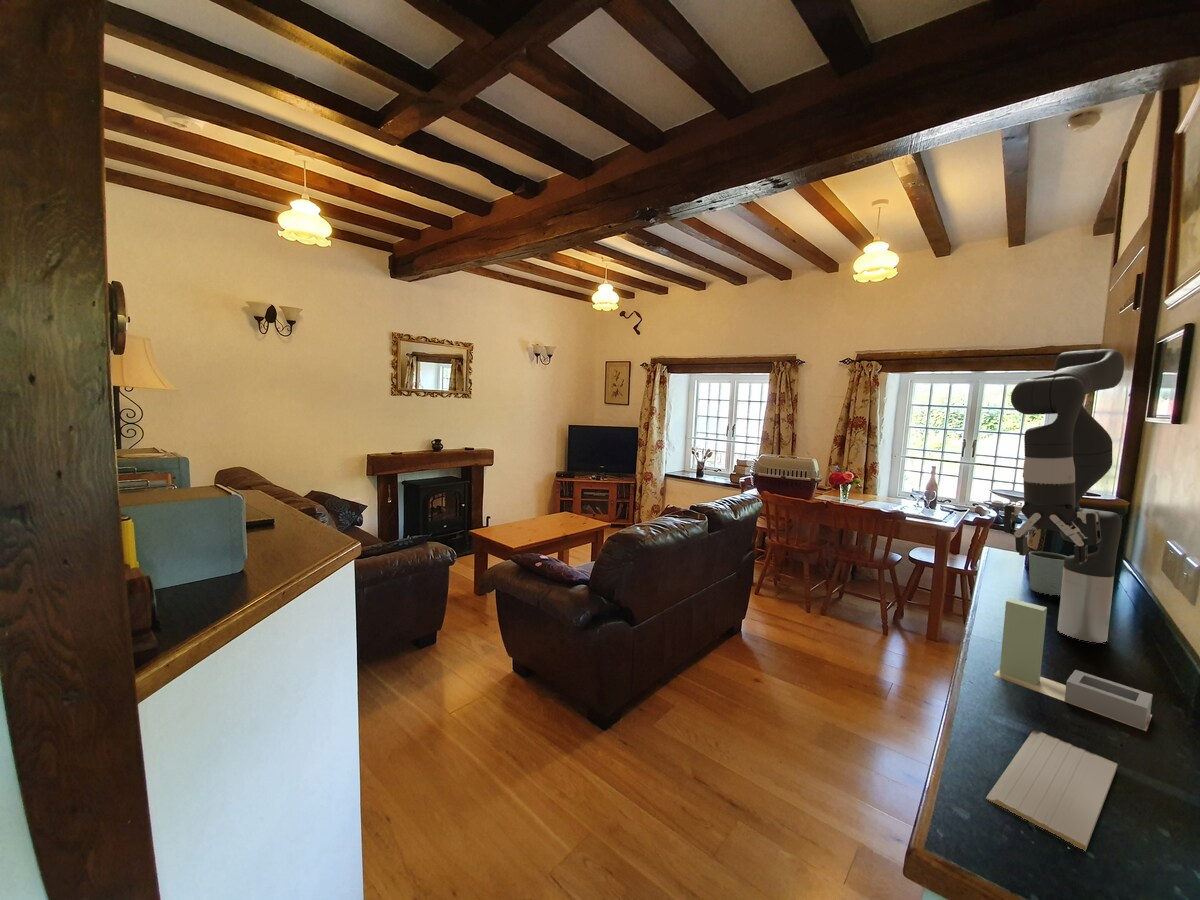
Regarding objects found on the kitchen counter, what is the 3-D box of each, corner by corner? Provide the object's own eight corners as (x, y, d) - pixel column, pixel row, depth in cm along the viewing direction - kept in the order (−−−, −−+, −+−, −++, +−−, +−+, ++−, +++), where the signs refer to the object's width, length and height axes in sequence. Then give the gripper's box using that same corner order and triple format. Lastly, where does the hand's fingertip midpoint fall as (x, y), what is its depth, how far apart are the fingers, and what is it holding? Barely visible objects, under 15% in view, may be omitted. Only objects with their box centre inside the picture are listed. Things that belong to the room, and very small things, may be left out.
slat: (1003, 668, 107) (1010, 598, 105) (1039, 681, 102) (1047, 607, 100) (999, 672, 105) (1006, 601, 104) (1035, 685, 100) (1043, 610, 99)
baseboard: (973, 796, 72) (1084, 856, 63) (974, 778, 72) (1087, 836, 63) (1028, 720, 91) (1121, 758, 81) (1030, 706, 91) (1123, 742, 81)
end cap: (1073, 688, 99) (1075, 669, 99) (1150, 714, 91) (1152, 694, 91) (1064, 700, 95) (1066, 681, 95) (1144, 729, 86) (1146, 708, 86)
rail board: (1004, 668, 109) (1004, 664, 108) (1151, 720, 91) (1152, 715, 91) (992, 679, 104) (992, 675, 104) (1145, 736, 86) (1146, 730, 86)
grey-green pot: (1071, 599, 151) (1075, 562, 150) (1028, 592, 157) (1032, 556, 156) (1063, 589, 160) (1066, 554, 159) (1022, 583, 165) (1026, 549, 164)
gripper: (1105, 479, 92) (1106, 562, 93) (1012, 474, 104) (1014, 548, 105) (1091, 484, 88) (1092, 571, 89) (996, 479, 100) (998, 555, 101)
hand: (1050, 559), depth 97 cm, fingers open, 8 cm apart
